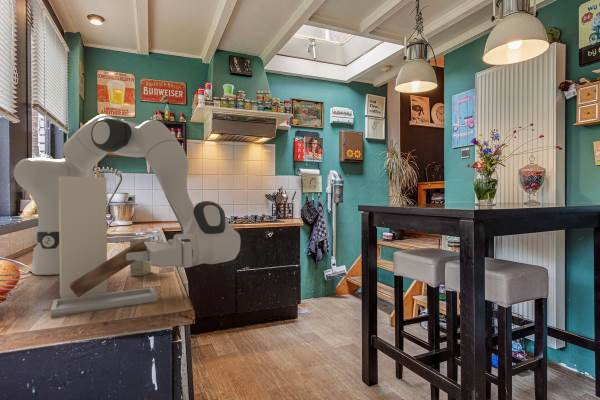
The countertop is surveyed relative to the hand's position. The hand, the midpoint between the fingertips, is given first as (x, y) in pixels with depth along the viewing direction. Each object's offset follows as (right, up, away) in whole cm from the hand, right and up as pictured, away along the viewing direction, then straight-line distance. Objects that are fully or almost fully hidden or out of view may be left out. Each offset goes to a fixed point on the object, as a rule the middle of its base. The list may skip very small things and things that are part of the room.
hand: (124, 255), depth 87 cm
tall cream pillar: (-14, -11, +7) cm, 20 cm away
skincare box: (-10, -11, +31) cm, 35 cm away
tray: (-3, -11, -2) cm, 12 cm away
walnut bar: (-2, -4, -1) cm, 5 cm away
